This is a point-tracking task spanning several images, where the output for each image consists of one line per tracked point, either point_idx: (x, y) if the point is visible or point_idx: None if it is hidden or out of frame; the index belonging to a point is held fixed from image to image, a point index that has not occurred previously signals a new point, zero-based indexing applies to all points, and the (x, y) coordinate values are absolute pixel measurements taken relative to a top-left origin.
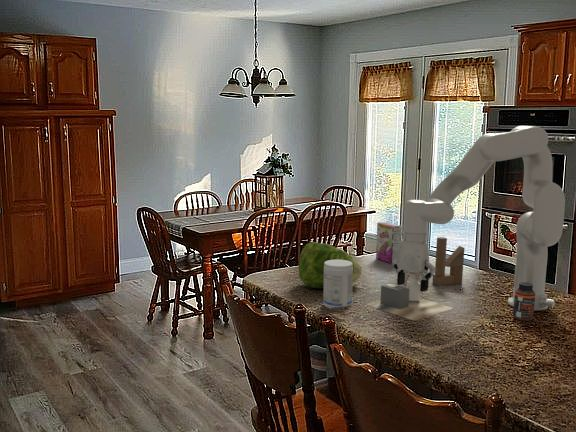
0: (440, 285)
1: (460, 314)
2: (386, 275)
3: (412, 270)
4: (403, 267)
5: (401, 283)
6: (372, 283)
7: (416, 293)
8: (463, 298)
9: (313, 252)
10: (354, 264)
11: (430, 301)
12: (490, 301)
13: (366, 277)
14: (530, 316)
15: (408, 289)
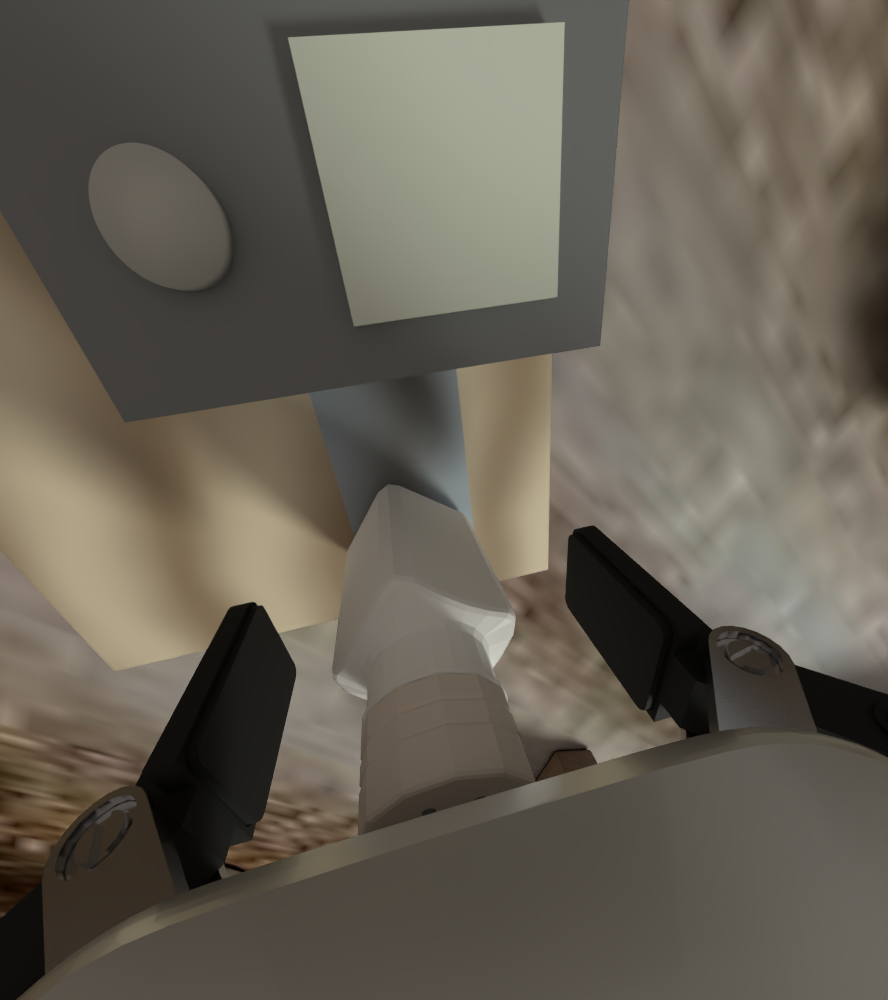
0: (549, 761)
1: (62, 656)
2: (798, 655)
3: (271, 967)
4: (691, 868)
5: (571, 570)
6: (812, 537)
7: (351, 572)
8: (356, 768)
9: None
10: None
11: (323, 617)
12: (269, 827)
13: (875, 566)
14: None
15: (116, 393)
